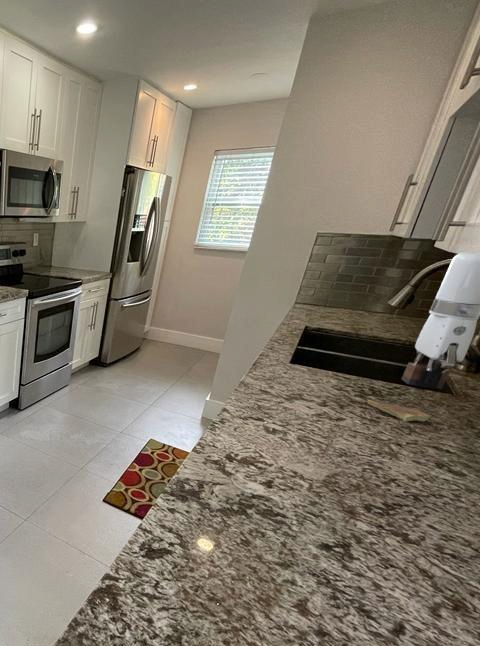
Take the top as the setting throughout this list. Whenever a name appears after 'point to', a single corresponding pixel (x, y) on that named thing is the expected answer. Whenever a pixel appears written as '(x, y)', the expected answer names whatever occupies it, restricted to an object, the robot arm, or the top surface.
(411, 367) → the eraser
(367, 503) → the top surface
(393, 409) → the shard
